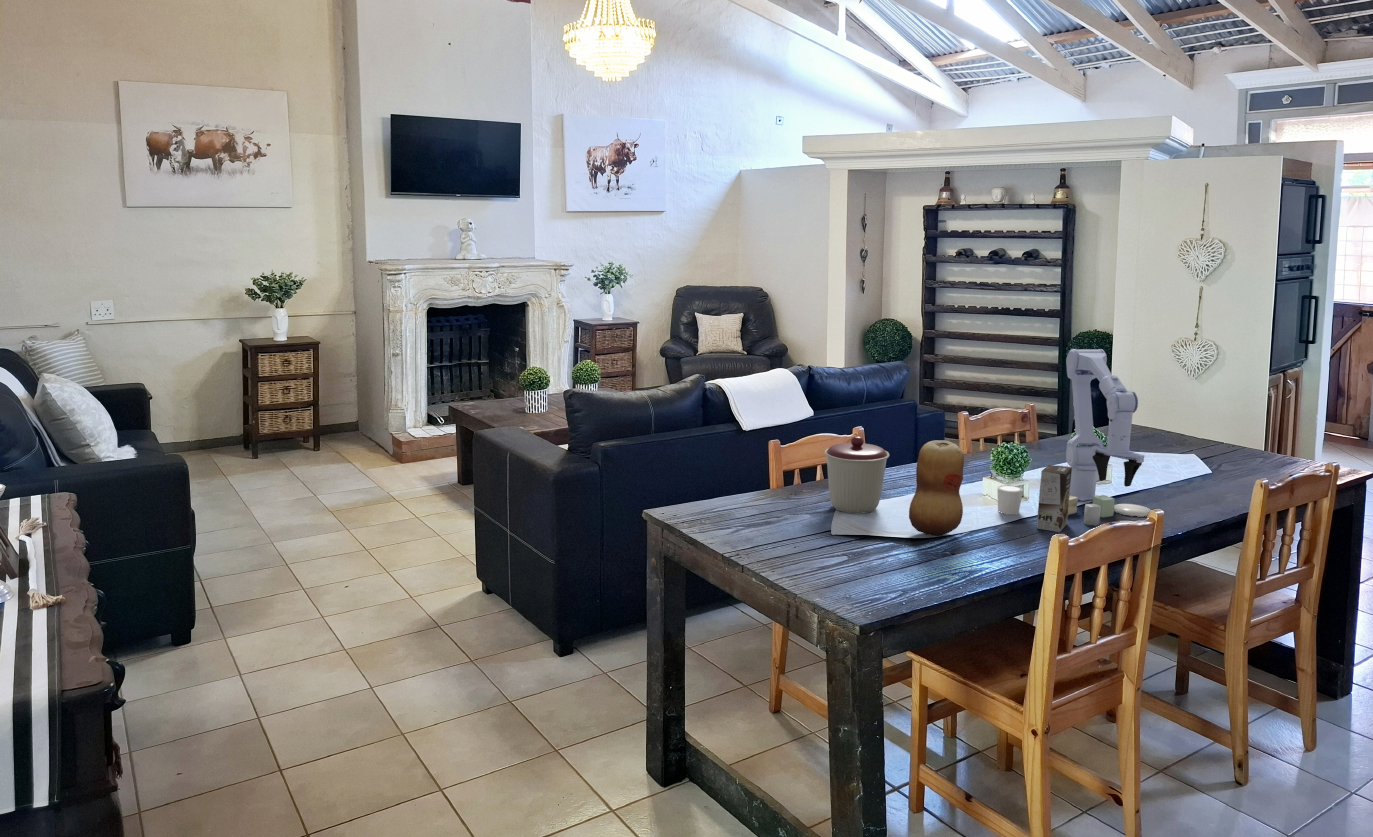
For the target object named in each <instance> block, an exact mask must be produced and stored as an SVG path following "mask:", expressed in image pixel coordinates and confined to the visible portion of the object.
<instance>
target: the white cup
mask: <svg viewBox="0 0 1373 837" xmlns="http://www.w3.org/2000/svg"><path fill="white" fill-rule="evenodd" d="M1023 492H1024V489H1023V488H1022V487H1020V486H1017V485H1010V484H1009V485H1008V484H1007V485H1006V484H1003V485H999V486H997V512H998V511H1000V512H1002V513H1004V514H1003V515H1007V514H1016V515H1019V513H1020V509H1021V508H1020V507H1021V502H1022V498H1023ZM1002 513H1001V514H1002Z"/></svg>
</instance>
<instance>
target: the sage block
mask: <svg viewBox="0 0 1373 837" xmlns="http://www.w3.org/2000/svg"><path fill="white" fill-rule="evenodd" d="M1115 502H1116V499H1115V498H1114V497H1111V496H1107V495H1104V494H1102V495H1098V496H1094V497H1093V499H1092V504H1096V505H1100V506H1101V511H1100V518H1108V517H1109V518H1110V517H1114V513H1115V512H1114V505H1115Z"/></svg>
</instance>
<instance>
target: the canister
mask: <svg viewBox="0 0 1373 837" xmlns="http://www.w3.org/2000/svg"><path fill="white" fill-rule="evenodd" d="M864 442H865V440H864V439H863V437H861V436H856V435H855V436H853V437H851V439H850V442H842V443H841V442H840V443H837V444H833V445H831V446H830V447H828V448H826V449H825V450H824V455H825V456H826V465H827V466H826V467H827V479H828V480H827V481H828V491H829V499H830V503H831V505H832V507H834V509H836V510H838V511H840V512H844V513H848V514H866V513H871V512H873V511H875V510H876V509H877V507H878V505H879V504H880V500H881V496H882V490H883V484H884V478H885V473H886V466H887V465H886V464H887V460H888V459H889V457H890V453H889V451H887V450H885V449H884V448H883V447H881V446H878V445H875V444H870V443H864Z"/></svg>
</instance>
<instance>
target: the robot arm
mask: <svg viewBox="0 0 1373 837" xmlns="http://www.w3.org/2000/svg"><path fill="white" fill-rule="evenodd" d="M1107 360H1108V358H1107V353H1106V351H1105V350H1104V349H1102V348H1098V349H1075V348H1071V349H1070V350H1069V351H1068V353H1067V357H1066V359H1065V361H1066V362H1065V363H1066V374H1067V378H1068V379H1070V380H1071V384H1072V385H1071V387H1072V388H1071V389H1072V396H1073V397H1072V399H1073V400H1072V401H1073V412H1074V429H1075V435H1074V436H1073V437H1072V438H1070V439H1069V440H1068V441H1067V443H1066V451H1065V460H1066V463H1067V465H1066V467H1072V473H1071V484H1070V496H1074V497H1078V501H1081V502H1084V501H1090V500H1092V501H1093V497H1094V496H1099V495H1097V494H1096V489H1097V478H1099V479H1098V480H1099V481H1106V479H1107V475H1108V466H1109V462H1110V459H1111V457H1112V458H1117V459H1123V460H1126V461H1123V467H1124V481H1123V484H1124V486H1123V487H1130V486H1131V485H1132V482H1133V480H1134V477H1135V475H1136V473H1137V472H1138V471H1139V469H1140V467H1141V466H1142V464H1143V463H1144V461H1145V454H1140V453H1137V452H1134V451H1131V450H1130V444H1131V434H1132V424H1133V415H1134V413H1135V412H1137V410H1138V406H1139V398H1138V396H1137V393H1136V392H1135V391H1131V390H1128V389H1127V388H1126V386H1125V385H1124V384H1123V383H1122V381H1121V379H1120V378H1119V377H1118V376H1117V375H1114V374H1112V373H1111V370H1110V369H1109V367H1108V365H1107V362H1108V361H1107ZM1094 379H1097V380H1098V381H1099V384H1098V388H1099V390H1100V391H1101V393H1102V395H1103V396H1104V398H1105V399H1106V408H1107V417H1108V419H1109V420H1108V430H1107V431H1108V432H1107V443H1106V446H1104V444H1103V440H1101V439H1100V438H1099V437H1098V436H1097V435H1095V432H1094V431H1095V430H1094V419H1093V418H1094V417H1093V404H1092V392H1091V391H1092V390H1091V381H1092V380H1094Z"/></svg>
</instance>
